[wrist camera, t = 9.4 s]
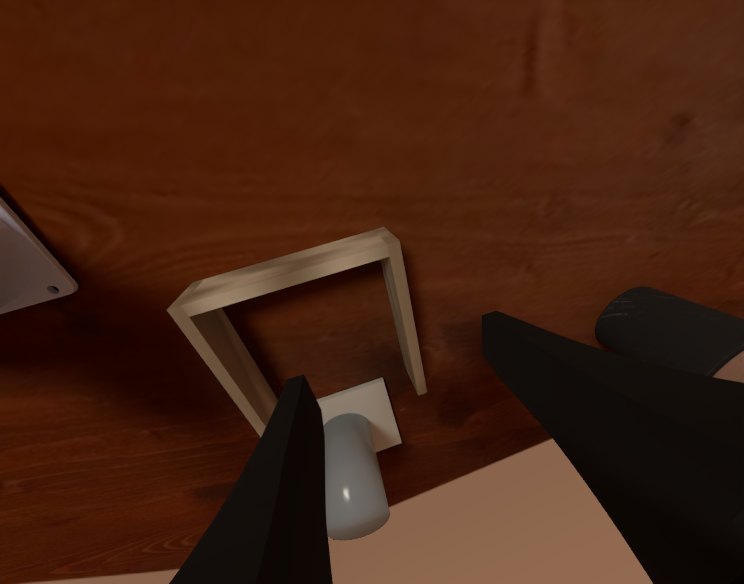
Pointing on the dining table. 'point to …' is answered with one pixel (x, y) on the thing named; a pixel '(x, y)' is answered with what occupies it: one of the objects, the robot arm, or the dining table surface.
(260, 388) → the frame
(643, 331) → the travel mug
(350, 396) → the coaster
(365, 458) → the grey domed cylinder
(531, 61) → the dining table surface
